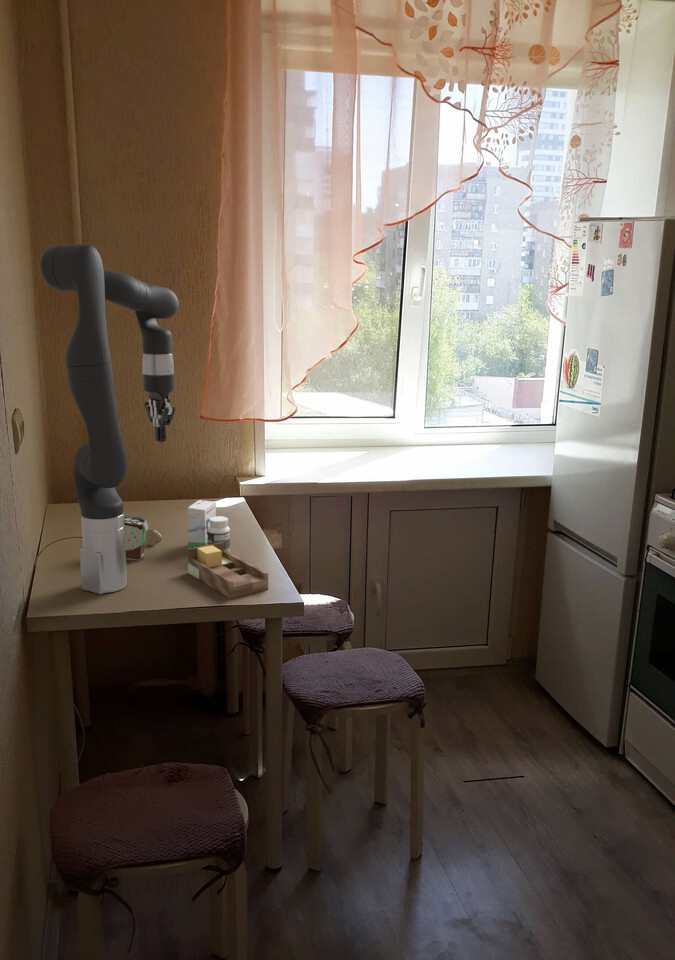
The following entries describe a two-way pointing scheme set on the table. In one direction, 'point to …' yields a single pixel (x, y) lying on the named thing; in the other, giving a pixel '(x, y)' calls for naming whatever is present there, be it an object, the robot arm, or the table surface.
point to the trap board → (230, 574)
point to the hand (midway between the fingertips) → (160, 441)
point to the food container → (135, 536)
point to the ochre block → (209, 556)
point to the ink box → (199, 522)
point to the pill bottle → (219, 531)
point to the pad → (195, 571)
